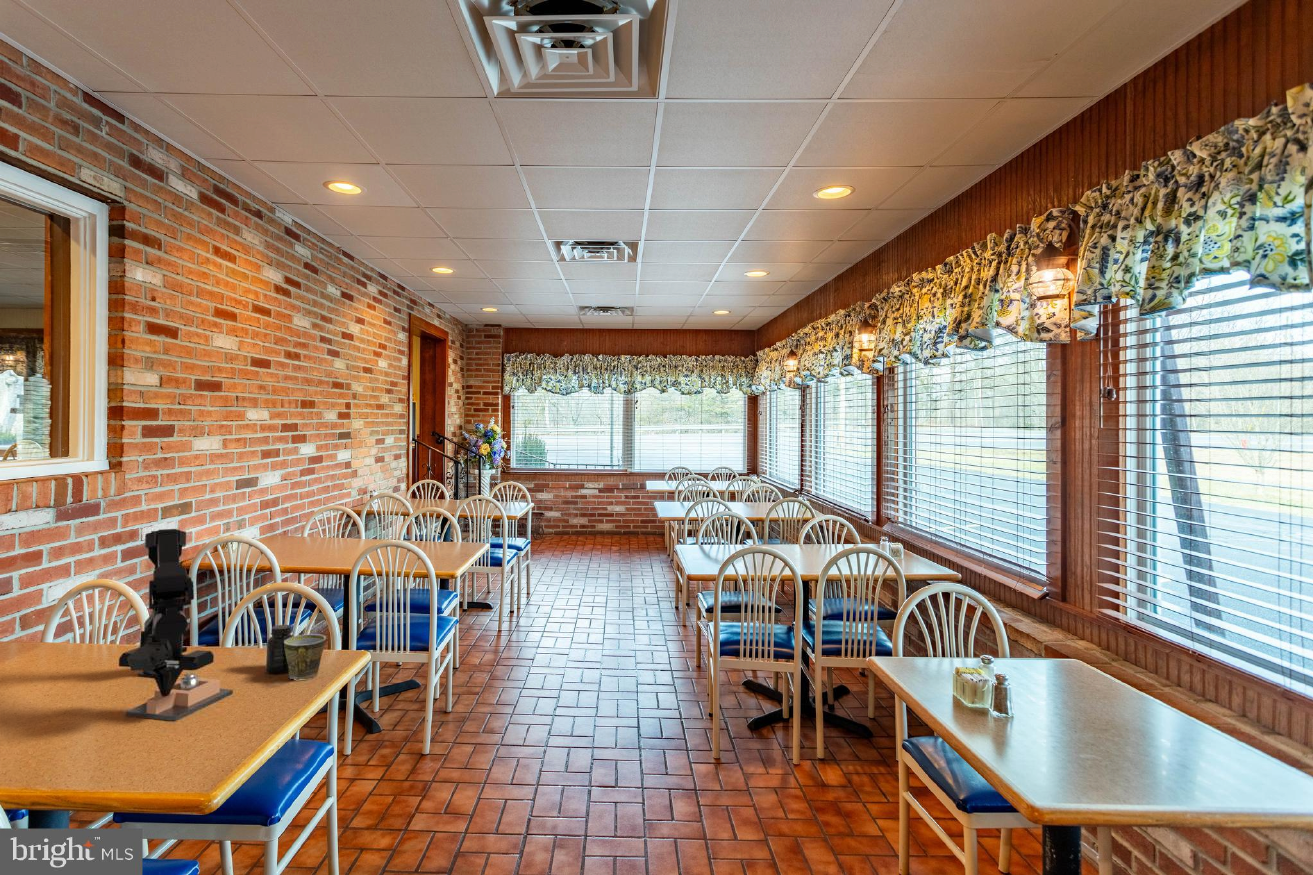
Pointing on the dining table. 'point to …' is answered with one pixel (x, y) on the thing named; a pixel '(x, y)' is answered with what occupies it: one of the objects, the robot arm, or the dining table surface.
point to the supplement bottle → (277, 649)
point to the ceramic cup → (304, 655)
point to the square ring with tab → (183, 695)
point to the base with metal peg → (180, 711)
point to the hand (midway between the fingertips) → (165, 695)
